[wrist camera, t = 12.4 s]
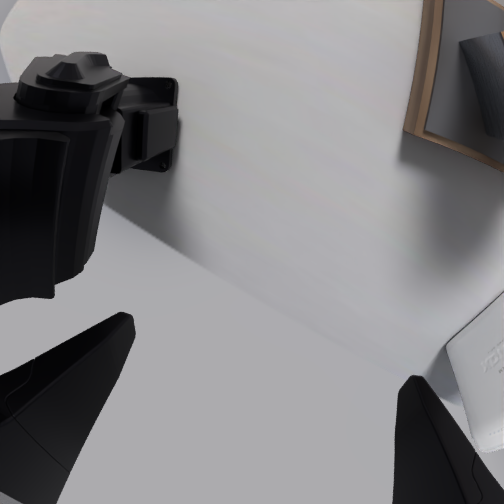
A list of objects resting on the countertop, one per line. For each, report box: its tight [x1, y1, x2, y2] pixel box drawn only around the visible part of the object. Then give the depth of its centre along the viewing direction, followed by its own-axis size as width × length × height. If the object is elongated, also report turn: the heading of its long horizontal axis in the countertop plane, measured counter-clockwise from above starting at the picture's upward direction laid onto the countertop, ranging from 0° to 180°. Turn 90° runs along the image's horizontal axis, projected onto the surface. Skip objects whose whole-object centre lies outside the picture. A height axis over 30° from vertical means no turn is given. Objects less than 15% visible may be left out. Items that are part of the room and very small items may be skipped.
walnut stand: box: [403, 0, 504, 172], centre depth 12 cm, size 11×11×2 cm
